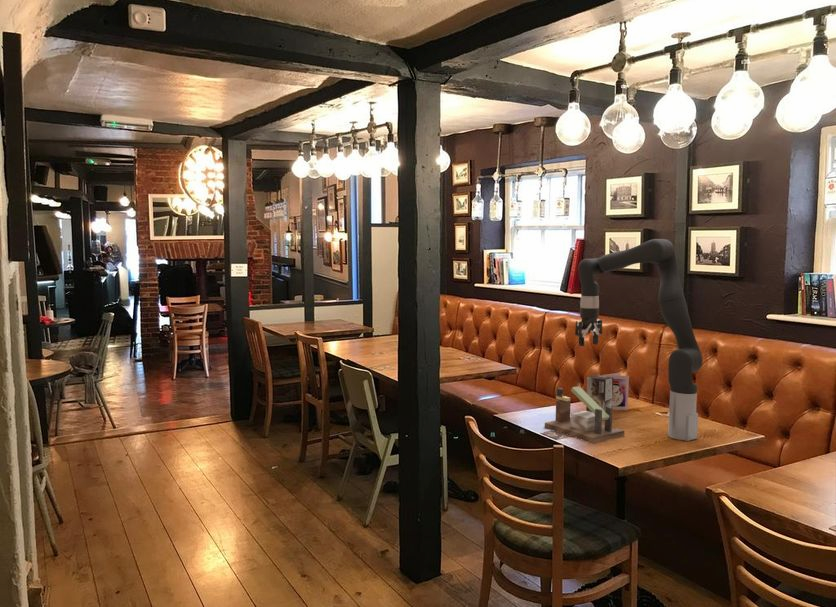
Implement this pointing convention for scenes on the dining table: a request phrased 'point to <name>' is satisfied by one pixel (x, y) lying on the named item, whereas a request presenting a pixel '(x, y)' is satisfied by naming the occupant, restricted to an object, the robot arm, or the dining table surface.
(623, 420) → the dining table surface
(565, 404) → the latch base
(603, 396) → the coffee box
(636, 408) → the dining table surface
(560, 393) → the bolt
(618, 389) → the greeting card
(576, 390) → the pale green flat bar
